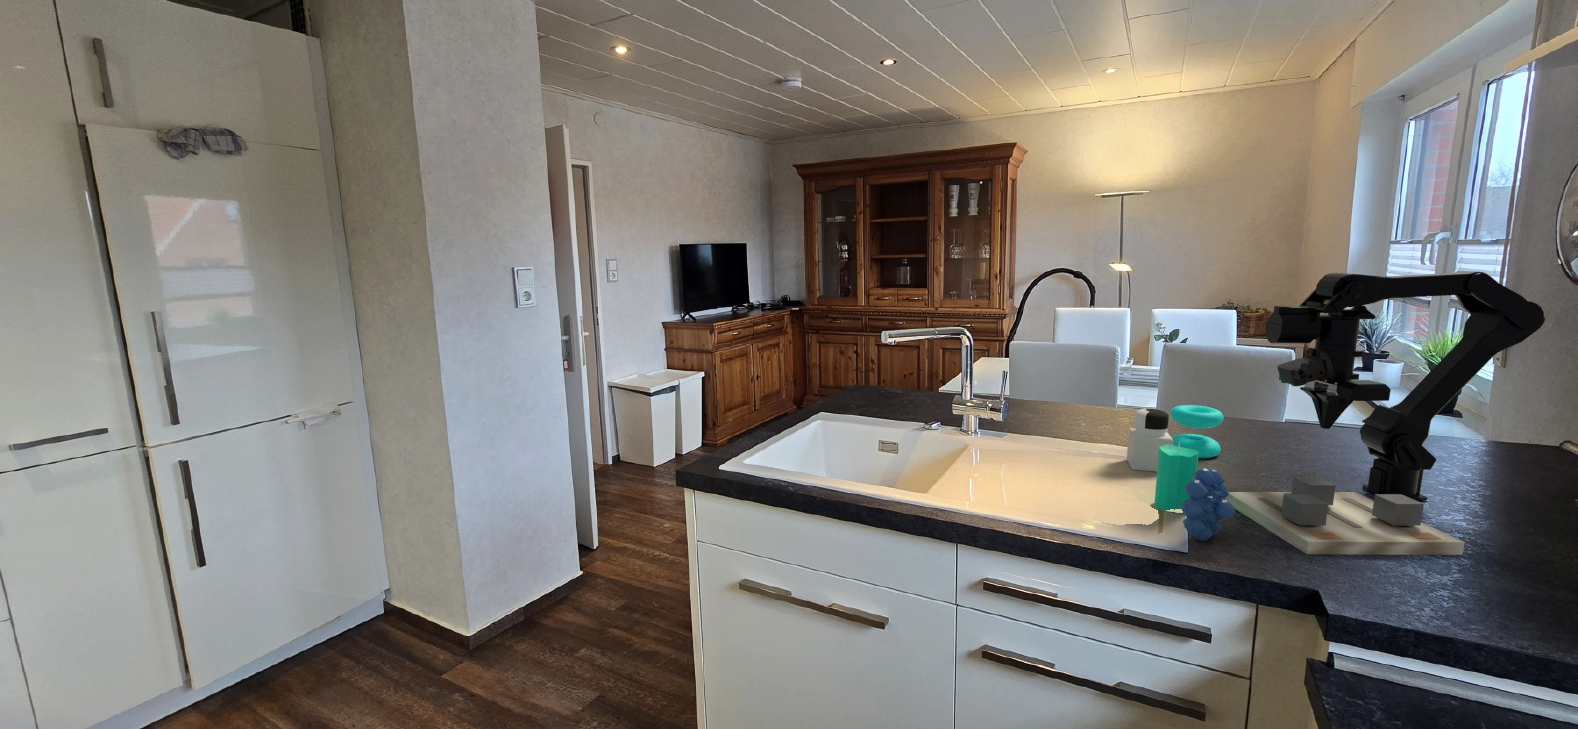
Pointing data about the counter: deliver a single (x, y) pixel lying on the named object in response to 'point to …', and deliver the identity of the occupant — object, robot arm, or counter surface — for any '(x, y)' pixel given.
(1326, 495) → the tab middle
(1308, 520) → the tab far
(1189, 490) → the grapes
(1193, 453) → the candle
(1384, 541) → the switch panel
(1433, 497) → the counter surface
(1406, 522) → the grey boxy piece
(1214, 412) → the donuts
